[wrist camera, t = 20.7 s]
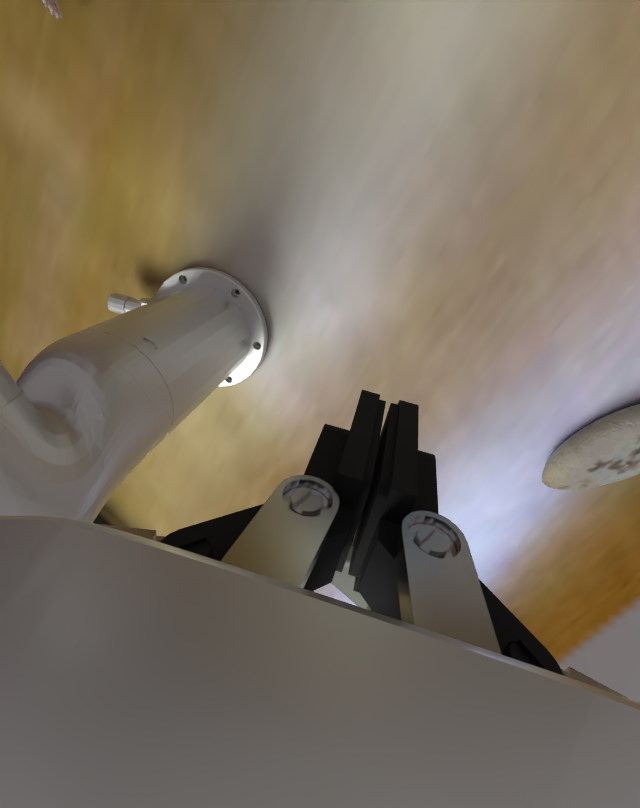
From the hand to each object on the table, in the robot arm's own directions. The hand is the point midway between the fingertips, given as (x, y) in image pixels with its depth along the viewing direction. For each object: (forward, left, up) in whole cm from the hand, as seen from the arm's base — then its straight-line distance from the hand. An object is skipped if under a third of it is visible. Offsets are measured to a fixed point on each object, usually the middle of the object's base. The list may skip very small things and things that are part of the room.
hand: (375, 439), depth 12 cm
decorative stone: (+24, -10, -28) cm, 38 cm away
